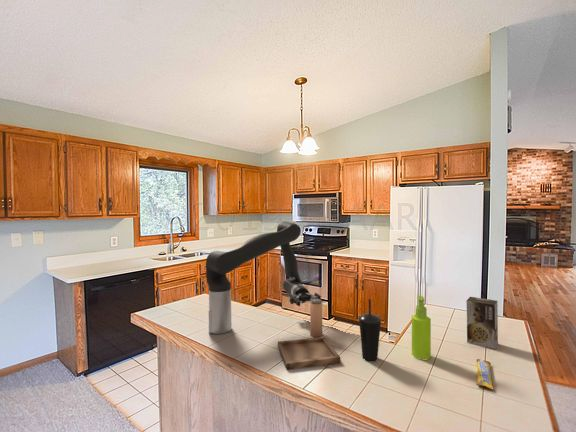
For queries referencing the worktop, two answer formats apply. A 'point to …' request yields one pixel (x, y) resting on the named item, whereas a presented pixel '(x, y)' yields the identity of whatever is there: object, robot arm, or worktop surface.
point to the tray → (307, 353)
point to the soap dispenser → (421, 332)
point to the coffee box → (482, 322)
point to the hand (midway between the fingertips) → (308, 303)
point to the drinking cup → (369, 334)
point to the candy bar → (484, 374)
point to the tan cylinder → (316, 318)
